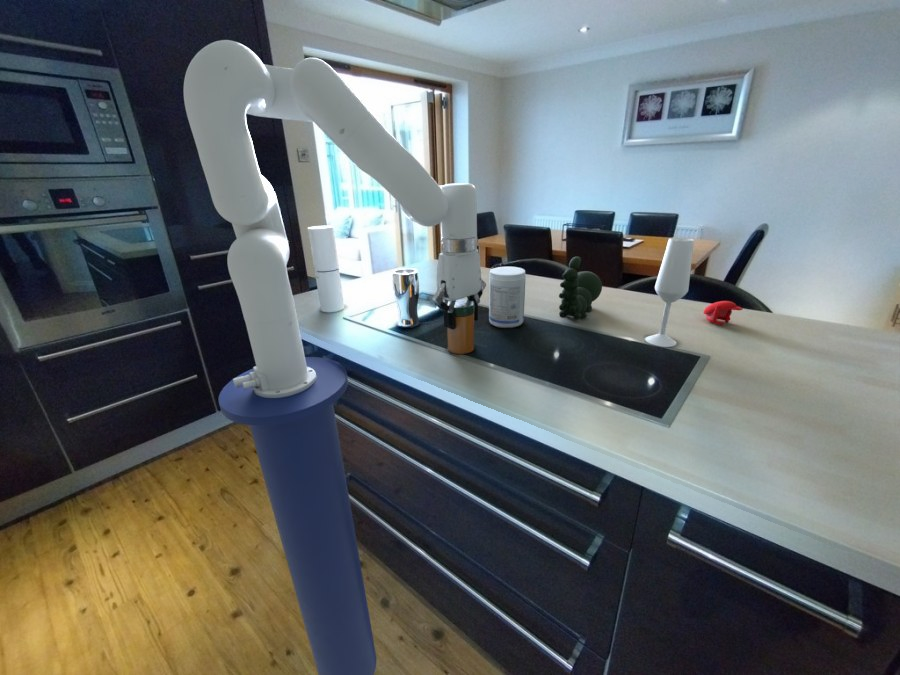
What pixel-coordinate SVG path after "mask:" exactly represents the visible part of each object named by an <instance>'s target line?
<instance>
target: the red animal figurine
mask: <svg viewBox="0 0 900 675" xmlns="http://www.w3.org/2000/svg"><path fill="white" fill-rule="evenodd" d="M733 311H743V308H742V307H741V306H740V305H739V306H738V305H737V304H736V303H735V302H733V301H730V300H720V301H716V302H713V303H711V304H709V305H707V306H706V307H705V308H704V310H703V312H702V313H703V315H705V318H706V321H708V322H709V323H712V324H715V325H718V326H723V325H724V322H725V323H729V321H731V315H732V314H733ZM719 320H720V321H719ZM723 321H724V322H723Z"/></svg>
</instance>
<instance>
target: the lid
mask: <svg viewBox="0 0 900 675" xmlns="http://www.w3.org/2000/svg"><path fill="white" fill-rule="evenodd" d="M449 303H450V301H448V304H447V305H448V306H449ZM453 312H455V316H466V315H470V314H473V313H474V312H475V303H474V302H473V301H471V300H468V299H465V298H462V299H458V300H456V302H455V306H454V309H453Z"/></svg>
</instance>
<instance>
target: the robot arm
mask: <svg viewBox="0 0 900 675" xmlns="http://www.w3.org/2000/svg"><path fill="white" fill-rule="evenodd" d="M183 104H184V108H185V113H186V117H187V120H188V123H189V124H188V125H189V127H190V130H191V133H192V136H193V139H194V144H195V147H196V149H197V153H198V157H199V160H200V164H201V167H202V171H203V173H204V177H205V179H206V182H207V186H208V189H209V190H208V191H209V194H210V197H211V201H212V204H213V206H214V208H215V210H216V212H217V213H218V214H219V215H220V216H221V217H222V218H223V219H224V220H225V221H227V222H229V223H230V224H231V225H232V228H233V231H234V234H235V237H236V239H235V240H234V241H233V242H232V243H231V245H230V247H229V249H228V253H227V270H228V273H229V276H230V279H231V282H232V284H233V287H234V289H235V293H236V295H237V298H238V301H239V304H240V308H241V312H242V315H243V316H242V317H243V320H244V322H245V327H246V332H247V334H248V339H249V342H250V346H251V350H252V354H253V359H254V362H255V365H254V366H252V369H254V372H250V373H249V374H250V375H246V376H241V377H238V378H236V377H234V378H232V380H233V382H234V385H235V387H236V388H237V387H240V386H243V388H244V390H245V389H248V388H251V387H253V390H254V392H255V394H257V395H258V396H261V397H264V398H282V397H287V396H291V395H294V394H297V393H300V392H302V391H304V390H306V389H308V388H309V387H310V386H312V385H313V383H314V382H315V381H316V373H315V371H314V370H313V369H312V368H310V367H307V365H306V360H305V357H306V355H305V351H304V350H305V349H304V344H303V341H302V340H303V339H302V336H301V335H302V334H301V330H300V326H299V325H300V324H299V319H298V314H297V310H296V305H295V299H294V295H293V290H292V286H291V283H290V279H289V274H288V269H287V268H288V267H287V265H288V262H289V258H290V246H289V241H288V237H287V233H286V230H285V225H284V222H283V218H282V214H281V208H280V206H279V202H278V198H277V194H276V191H274V188H273V186H272V184H271V183H270V181H268V179H267V178H266V177H265V176H264V175H262V174H261V170H260V167H259V164H258V159H257V156H256V153H255V148H254V144H253V140H252V137H251V134H250V131H249V128H248V123H247V115H251V116H254V117H262V118H270V119H281V120H289V121H295V122H308V123H309V122H310V123H314V124H315V125H316V126H317V127H318V128H319V129H320V130H321V131H322V132H323V133H324V134H325V135H326V136H327V137H328V138H329V140H330V141H331V142H332V143H333V144H335V146H336V147H337V148H338V149H339V151H340V152H342V153H343V154H344V155H345V156H346V157H347V158H348V160H349V161H351V163H353V165H355V166H356V167H357V168H358V169H359V170H361V172H364V173H365V174H366V175H368V176H370V177H371V178H372V179H373V180H375V181H376V182H377V183H378V184H379V185H381V186H382V188H383V189H384V190H386V191H387V192H388V193H389V194H390V195H391V196H392V198H394V200H395V201H396V202H398V204H399V205H400V208H401V211H402V214H404V216H405V217H406V218H407V219H409V220H411V221H412V222H414V223H416V224H418V225H420V226H423V227H428V228H429V227H434V226H437V225H439V224H440V234H441V236H440V237H441V252H440V253H439V254H438V258H437V267H436V291H435V293H434V294H433V296H432V298H431V300H432V302H433V303H434V304H435V305H436V306H437V307H438V308H439V309H440V310H441V311H442V312H443V327H445V328H446V329H447V328H450V329H452V330H454V329H455V328H456V321H455V312H453V309H454V306H455V302H456V300H458V299H465V298H467V300H471V301H473V302H474V303H475V312H474V322H476V321H478V320H479V304H480V303H481V297H482V296H483V294H484V293H483V292H484V290H485V289H486V287H487V283H486V281H484V279H482V268H481V259H480V253H479V249H478V242H479V238H478V223H477V222H478V218H477V216H478V212H477V209H478V206H477V204H478V203H477V199H478V198H477V188H476V186H475V185H474V184H473V183H469V182H456V183H455V182H454V183H445V184H442V185H439V184H438V182H437V181H436V179H434V178H433V176H432V175H430V173H429V172H428V171H427V170H426V169H425V167H424V166H423V165H422V164H421V163H420V161H418V159H417V158H415V156H414V155H412V154H411V152H410V151H409V150H408V149H406V148H405V147H404V145H402V144H401V143H400V142H399V140H397V138H396V137H395V136H394V135H393V134H392V133H391V132H390V131H389V130H388V129H387V128H386V127H385V126H384V125H383V124H382V122H380V120H379V119H378V118H377V117H376V116H375V115H374V114H373V112H371V111H370V109H369V108H368V107H367V106H366V105H365V104H364V102H363V101H362V100H361V99H360V98H359V96H358V95H357V94H356V93H355V92H354V91H353V90H352V88H351V87H350V85H348V84H347V83H346V82H345V80H344V79H343V78H342V77H341V76H340V74H338V72H336V70H335V69H334V68H333V67H332V66H331V65H330V64H328V63H327V62H325V61H324V60H323V59H321V58H318V57H307V58H304V59H301V60H300V61H299V62H297V64H296V65H295V66H294V68H290V67H283V66H278V65H270V64H266V63H265V64H264V62H262V60H261V58H260V57H259V56H258V55H257V54H256V53H255V52H254V51H253V50H252V49H250V48H249V47H248V46H246V45H244V44H242V43H240V42H238V41H234V40H231V39H230V40H229V39H221V40H216V41H213V42H210V43H208V44H207V45H205V46H204V47H203V48H201V49H200V50H199V51H197V53H196V54H195V55H194V56H193V58H192V59H191V61H190V63H189V64H188V66H187V69H186V71H185V75H184V80H183ZM448 301H450V303H449V306H448V305H447V304H448Z"/></svg>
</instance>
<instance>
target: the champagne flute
mask: <svg viewBox="0 0 900 675" xmlns="http://www.w3.org/2000/svg"><path fill="white" fill-rule="evenodd" d="M694 243H695V239H693V238H690V237H670V238H668V241H667V244H666V248H665V251H664V255H663V258H662V261H661V264H660V267H659V272H658V275H657V278H656V281H655V285H654V290H655V292H656V294H657V296H658V297H659V298H660V299H661V300H662V301H663V302H664V303H665V304H664V308H663V314H662V317H661V323H660V328H659V333H655V334H652V335H649V336H646V337H645V338H644V339H645V341H646V342H647V343H648V344H651V345H653V346H656V347H661V348H662V347H663V348H671V347H674V346H676V345H677V341H676V340H674V339H673V338H671V337H670V336H669V335H667V334H666V331H667V327H668V326H667V325H668V321H669V316H670V311H671V306H672V303H675V302H677V301H679V300H680V299H682V298H683V297H685V296H686V295H687V294H688V293H689V287H690V280H691V271H692V263H693V262H692V261H693V253H694Z"/></svg>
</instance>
